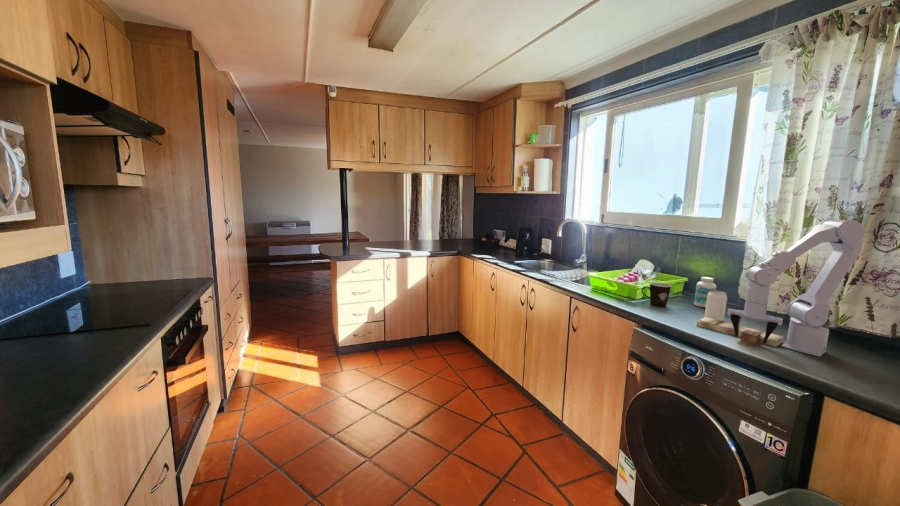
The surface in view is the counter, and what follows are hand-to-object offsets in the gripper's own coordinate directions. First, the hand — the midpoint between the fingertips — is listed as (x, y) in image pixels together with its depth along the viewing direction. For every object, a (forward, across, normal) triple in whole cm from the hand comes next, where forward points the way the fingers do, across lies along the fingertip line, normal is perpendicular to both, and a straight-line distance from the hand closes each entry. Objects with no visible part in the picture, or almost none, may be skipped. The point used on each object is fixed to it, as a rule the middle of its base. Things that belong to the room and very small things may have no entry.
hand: (750, 339), depth 125 cm
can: (+2, +13, -20) cm, 24 cm away
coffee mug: (+2, +37, -25) cm, 45 cm away
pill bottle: (+2, +21, -41) cm, 46 cm away
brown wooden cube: (+2, 0, 0) cm, 2 cm away
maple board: (+1, +4, -9) cm, 10 cm away
